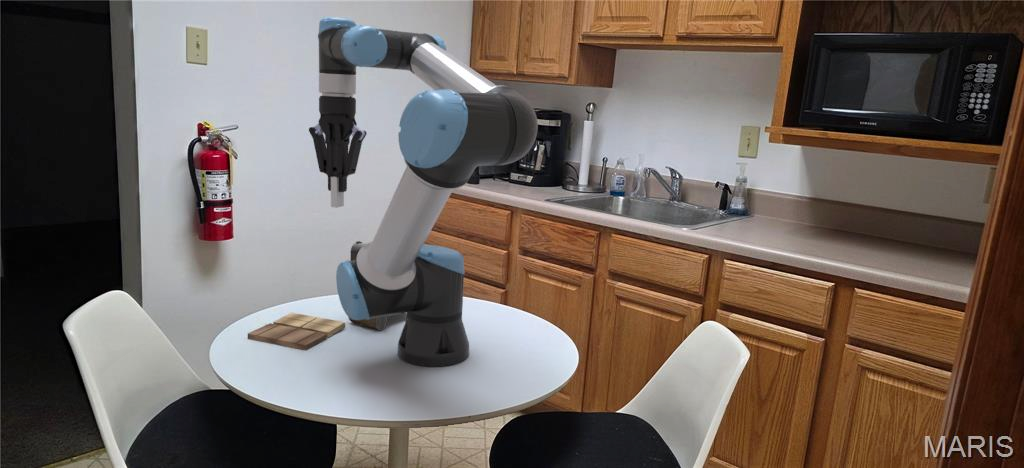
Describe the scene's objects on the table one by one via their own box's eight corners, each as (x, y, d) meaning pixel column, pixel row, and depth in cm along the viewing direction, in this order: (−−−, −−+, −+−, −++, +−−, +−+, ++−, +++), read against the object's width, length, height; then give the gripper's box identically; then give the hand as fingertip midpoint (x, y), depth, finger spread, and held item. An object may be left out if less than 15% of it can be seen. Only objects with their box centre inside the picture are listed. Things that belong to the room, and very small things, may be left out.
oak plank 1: (317, 321, 157) (317, 316, 157) (300, 331, 151) (299, 326, 151) (291, 317, 160) (291, 312, 159) (273, 326, 154) (273, 321, 153)
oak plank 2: (345, 326, 155) (345, 321, 155) (328, 337, 149) (328, 332, 149) (318, 322, 157) (318, 316, 157) (301, 332, 151) (301, 326, 151)
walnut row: (326, 339, 148) (326, 333, 148) (305, 350, 141) (305, 344, 141) (270, 328, 153) (270, 322, 153) (247, 338, 146) (247, 332, 146)
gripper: (374, 97, 142) (372, 207, 147) (321, 94, 146) (321, 201, 151) (354, 96, 135) (353, 212, 140) (300, 93, 139) (301, 205, 144)
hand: (337, 206), depth 145 cm, fingers closed
